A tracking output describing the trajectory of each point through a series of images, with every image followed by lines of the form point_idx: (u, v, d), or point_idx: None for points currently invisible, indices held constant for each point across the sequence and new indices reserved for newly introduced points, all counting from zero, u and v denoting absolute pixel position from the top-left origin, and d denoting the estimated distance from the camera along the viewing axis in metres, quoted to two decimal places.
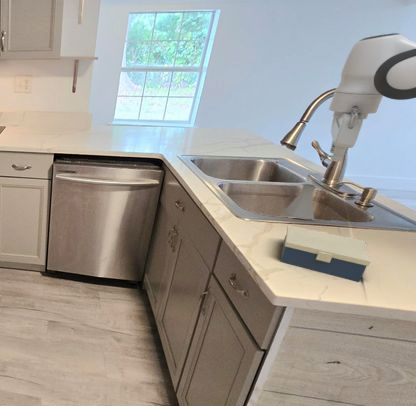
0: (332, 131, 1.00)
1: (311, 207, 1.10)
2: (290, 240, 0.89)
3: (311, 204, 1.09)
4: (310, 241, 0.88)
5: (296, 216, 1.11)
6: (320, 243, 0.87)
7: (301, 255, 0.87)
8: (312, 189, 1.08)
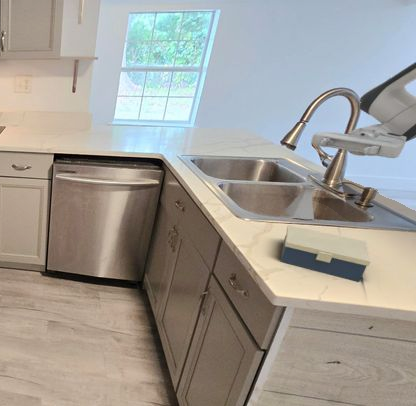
0: None
1: (311, 207, 1.10)
2: (290, 240, 0.89)
3: (311, 204, 1.09)
4: (310, 241, 0.88)
5: (296, 216, 1.11)
6: (320, 243, 0.87)
7: (301, 255, 0.87)
8: (312, 189, 1.08)
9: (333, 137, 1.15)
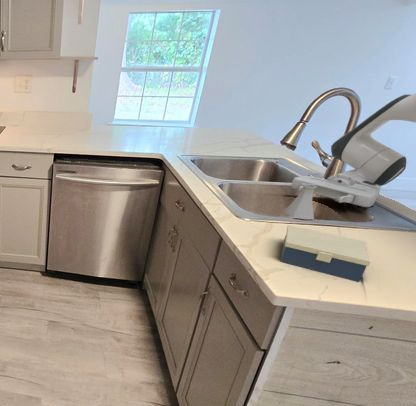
0: None
1: (311, 207, 1.10)
2: (290, 240, 0.89)
3: (311, 204, 1.09)
4: (310, 241, 0.88)
5: (296, 216, 1.11)
6: (320, 243, 0.87)
7: (301, 255, 0.87)
8: (312, 189, 1.08)
9: (311, 183, 1.19)
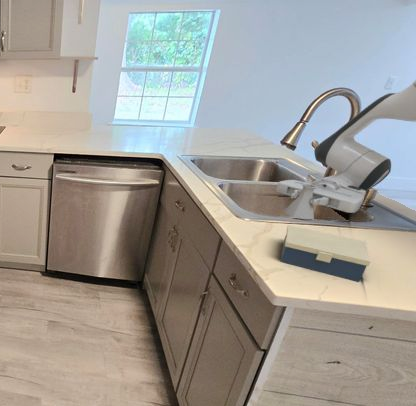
0: (329, 206, 1.10)
1: (311, 207, 1.10)
2: (290, 240, 0.89)
3: None
4: (310, 241, 0.88)
5: (296, 216, 1.11)
6: (320, 243, 0.87)
7: (301, 255, 0.87)
8: (312, 189, 1.08)
9: (296, 187, 1.16)
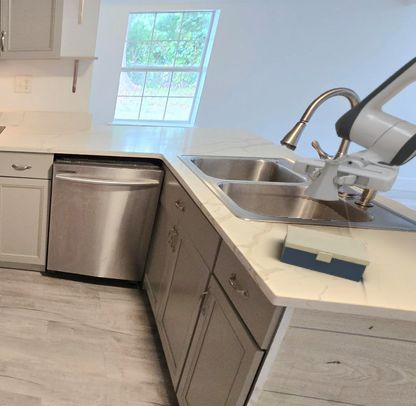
0: (356, 185, 0.95)
1: (335, 186, 0.95)
2: (290, 240, 0.89)
3: (335, 183, 0.95)
4: (310, 241, 0.88)
5: (318, 197, 0.96)
6: (320, 243, 0.87)
7: (301, 255, 0.87)
8: (336, 165, 0.94)
9: (316, 165, 1.01)
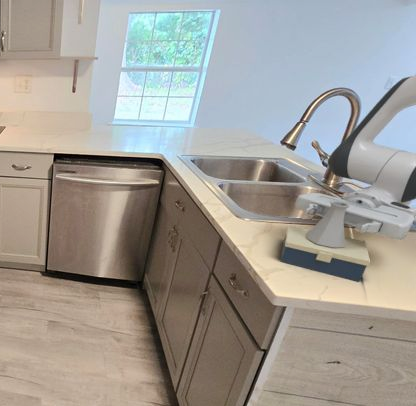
0: None
1: (342, 232, 0.84)
2: (290, 240, 0.89)
3: (342, 228, 0.84)
4: (310, 241, 0.88)
5: (322, 243, 0.86)
6: None
7: (301, 255, 0.87)
8: (344, 208, 0.83)
9: (322, 204, 0.90)
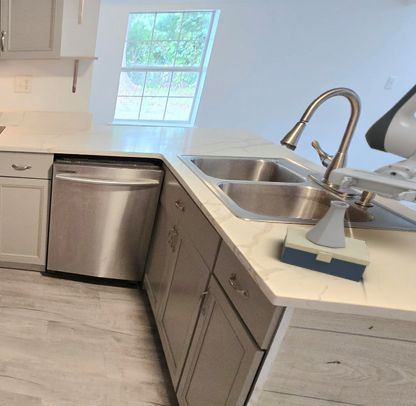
0: None
1: (342, 232, 0.84)
2: (290, 240, 0.89)
3: (342, 228, 0.84)
4: (310, 241, 0.88)
5: (322, 243, 0.86)
6: None
7: (301, 255, 0.87)
8: (344, 208, 0.83)
9: (356, 176, 0.93)
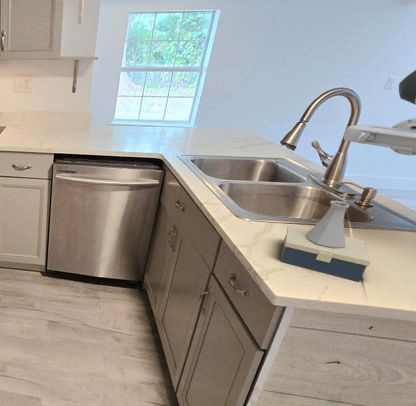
0: None
1: (342, 232, 0.84)
2: (290, 240, 0.89)
3: (342, 228, 0.84)
4: (310, 241, 0.88)
5: (322, 243, 0.86)
6: None
7: (301, 255, 0.87)
8: (344, 208, 0.83)
9: (374, 131, 0.88)
